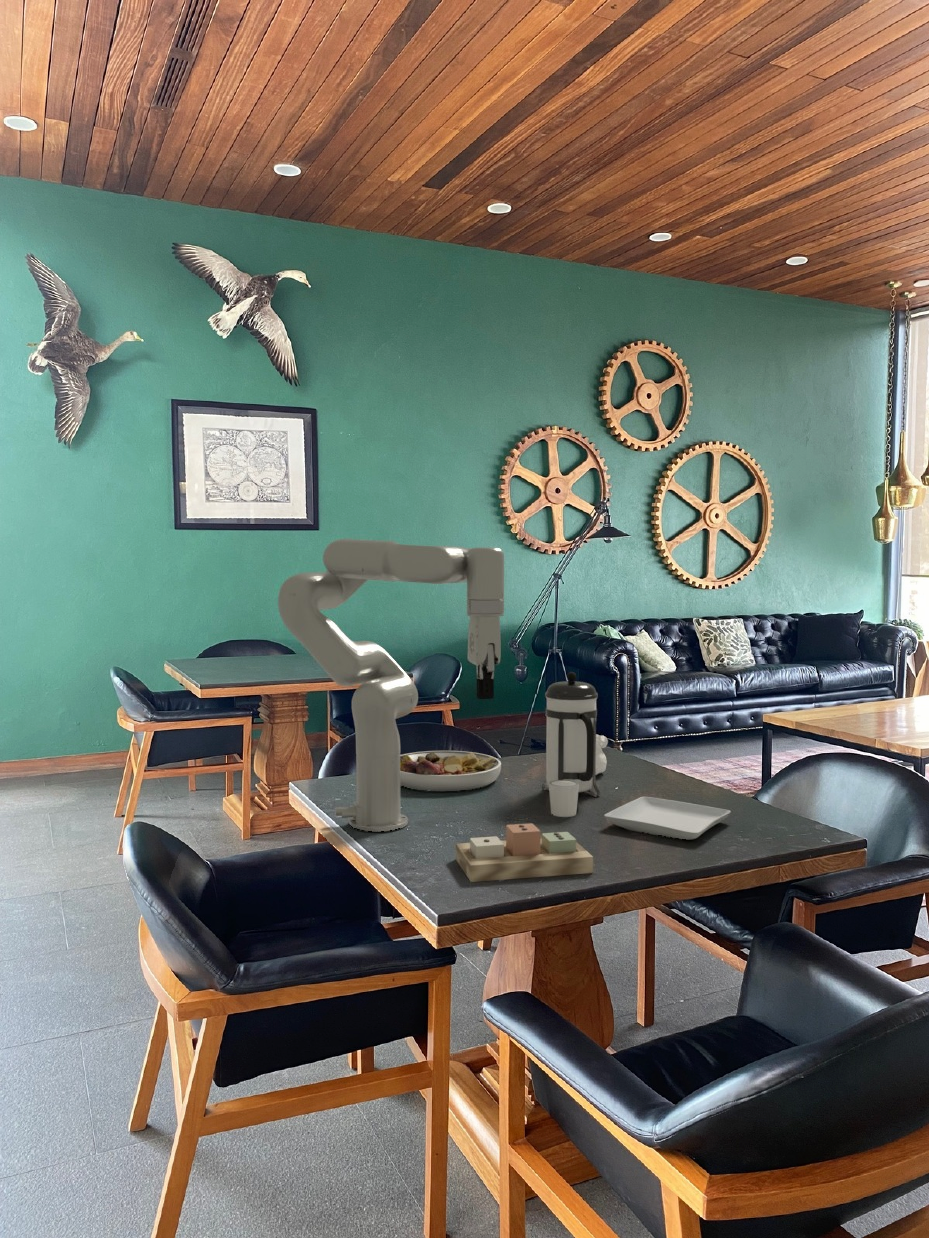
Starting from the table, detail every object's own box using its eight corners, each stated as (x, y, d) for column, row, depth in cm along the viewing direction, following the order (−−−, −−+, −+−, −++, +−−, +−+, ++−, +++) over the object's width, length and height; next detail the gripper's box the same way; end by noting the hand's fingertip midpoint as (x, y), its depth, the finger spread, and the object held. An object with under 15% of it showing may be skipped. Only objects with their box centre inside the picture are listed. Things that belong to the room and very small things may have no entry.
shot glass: (577, 818, 207) (577, 787, 207) (546, 816, 208) (546, 785, 208) (580, 810, 214) (580, 780, 213) (550, 808, 215) (550, 778, 215)
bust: (603, 785, 246) (628, 751, 247) (582, 769, 244) (607, 734, 246) (585, 775, 258) (608, 742, 259) (565, 760, 256) (588, 727, 257)
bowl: (410, 765, 262) (410, 737, 261) (513, 772, 253) (513, 744, 252) (367, 790, 233) (366, 759, 233) (481, 799, 224) (482, 767, 224)
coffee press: (526, 796, 227) (527, 673, 225) (557, 783, 240) (558, 667, 238) (591, 806, 217) (592, 678, 215) (620, 792, 230) (621, 671, 228)
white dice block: (476, 873, 170) (476, 845, 170) (469, 864, 175) (469, 836, 175) (503, 871, 171) (503, 843, 171) (496, 862, 176) (496, 835, 176)
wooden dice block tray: (470, 881, 166) (470, 865, 166) (455, 859, 179) (455, 843, 179) (593, 872, 171) (593, 856, 171) (570, 851, 184) (570, 836, 183)
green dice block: (549, 867, 173) (549, 840, 173) (541, 859, 178) (541, 832, 178) (576, 865, 174) (576, 838, 174) (567, 857, 179) (567, 830, 179)
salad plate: (732, 823, 204) (732, 808, 204) (697, 848, 187) (697, 831, 187) (642, 808, 216) (642, 794, 216) (601, 830, 199) (601, 815, 199)
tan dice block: (513, 859, 172) (513, 831, 171) (505, 850, 177) (506, 823, 176) (540, 857, 173) (540, 829, 172) (532, 849, 178) (532, 822, 178)
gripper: (459, 606, 195) (459, 693, 196) (475, 610, 181) (475, 704, 182) (494, 606, 197) (493, 692, 198) (513, 610, 182) (512, 703, 183)
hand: (485, 698), depth 190 cm, fingers closed
